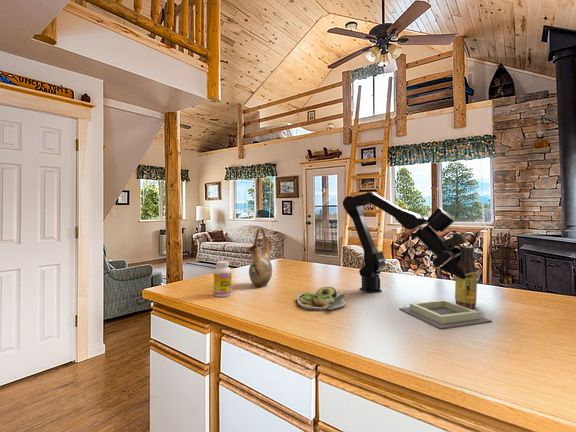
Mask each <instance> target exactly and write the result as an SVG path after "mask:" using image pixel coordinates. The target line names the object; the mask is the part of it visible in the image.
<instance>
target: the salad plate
mask: <svg viewBox="0 0 576 432" xmlns="http://www.w3.org/2000/svg"><path fill="white" fill-rule="evenodd" d="M345 295H346V294H343V293H341V294H339V293H337V290H336V288H335V287H333V286H323V287H321V288H319V289H318V290H317V291H316V293H311V292H309V293H308V292H306V293H300V294H299V295H298V294H297V296H296V297H295V300H296V302H297V304H298V305H299V306H300V307H301V308H303V309H304V310H305V309H306V310H307V311H308V310H309V311H333V310H337V309H340V308H342V307H344V306H345V305H346V304H347V302H346V301H345V299H344V298H345ZM305 304H306V305H305ZM309 305H310V306H309ZM311 305H314V306H311Z"/></svg>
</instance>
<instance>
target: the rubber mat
mask: <svg viewBox="0 0 576 432" xmlns="http://www.w3.org/2000/svg"><path fill="white" fill-rule="evenodd" d="M399 310H400V311H402V312H404V313H406V314H408V315H410V316H413V317H414V318H417V319H418V320H420V321H423V322H424V323H427V324H428V325H431V326H433V327H435V328H437V329H439V330H446V329H451V328H452V329H453V328H454V329H455V328H460V327H465V326H466V327H467V326H473V325H481V324H486V323H492V322H493V320H492V319H489V318H486V317H483V316H481V315H479V319H474V320H467V321H460V322H452V323H445V324H440V323H438V322H436V321H433V320H431V319H429V318H427V317H425V316H423V315H420V314H418V313H416V312H414V311H412V310H410V306H406V307H399ZM428 310H431V311H433V312H435V313H438V314H440V315H446V314H454V313H458V312H455V311H453V310H450V309H448V308H445V307H440V308H431V309H428Z"/></svg>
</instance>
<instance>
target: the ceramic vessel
mask: <svg viewBox="0 0 576 432" xmlns="http://www.w3.org/2000/svg"><path fill="white" fill-rule="evenodd" d="M260 232H261V233H262V240H263V246H264V247H263V249H262V252H261V254H260V253H259V249H258V248H259V247H258V242H259V233H260ZM272 247H273V245H272V244H271V242H270V241H269V239H268V237H267V235H266V232H265V230H264V228H263V227H259V228H258V229H257V230H256V232H255V237H254V241H253V244H252V246H249V247H248V248H247V250H248V252H249V253H250V255H251V262H250V263H249V267H248V268H249V269H248V274H249V275H248V276H249V279H250V282H251V283H252V284H253V285H254V286H255V287H257V288H262V287H265V286H267V285H268V283H269V282H270V280H271V279H272V275H273V265H272V262H271V260H270V252H271V249H272Z"/></svg>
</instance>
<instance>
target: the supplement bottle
mask: <svg viewBox="0 0 576 432" xmlns="http://www.w3.org/2000/svg"><path fill="white" fill-rule="evenodd" d="M229 265H230V262H229V261H228V260H219V261H216V268H215V269H214V270H213V295H214V297H217V298H224V297H225V298H226V297H230V296H231V295H232V291H233V290H232V288H233V287H232V269H231V268H230V267H229Z"/></svg>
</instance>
